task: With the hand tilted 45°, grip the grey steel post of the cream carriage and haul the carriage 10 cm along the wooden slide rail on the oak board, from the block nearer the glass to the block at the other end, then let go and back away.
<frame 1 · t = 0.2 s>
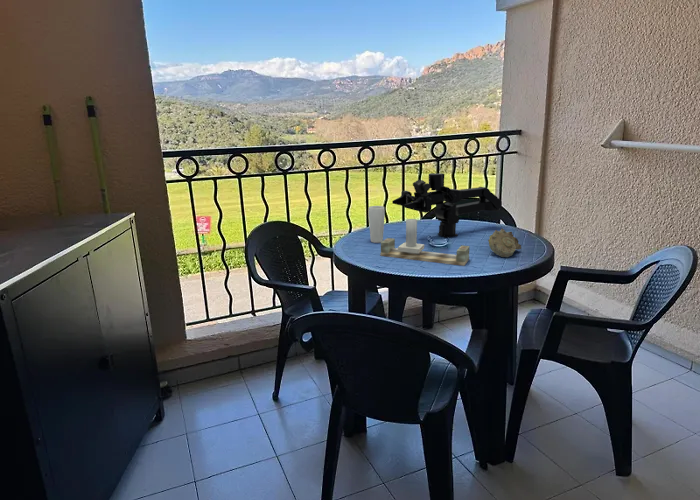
hand: (398, 204, 179), 17 cm above the table, tool horizontal, fingers open, 9 cm apart
wooden slide rail: (423, 257, 164), on the table
seashell: (503, 254, 167), on the table
carriage: (411, 235, 164), point 8 cm above the table, slide at -5.0 cm
drinking glass: (376, 242, 187), on the table
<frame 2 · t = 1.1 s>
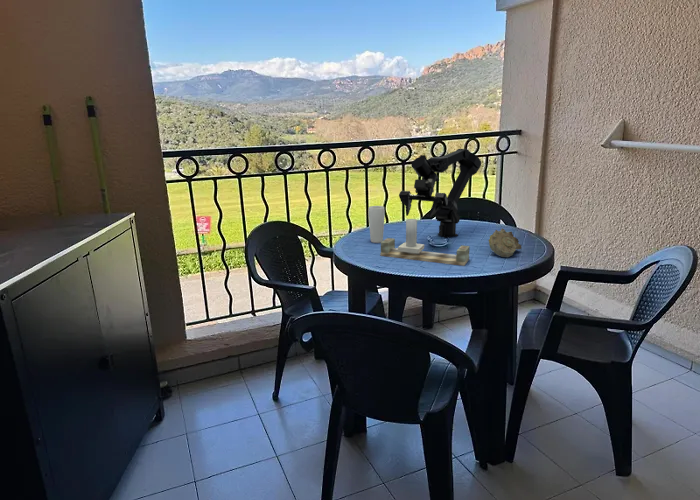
hand: (418, 216, 170), 14 cm above the table, tool tilted 45°, fingers open, 9 cm apart
nothing on the table moved.
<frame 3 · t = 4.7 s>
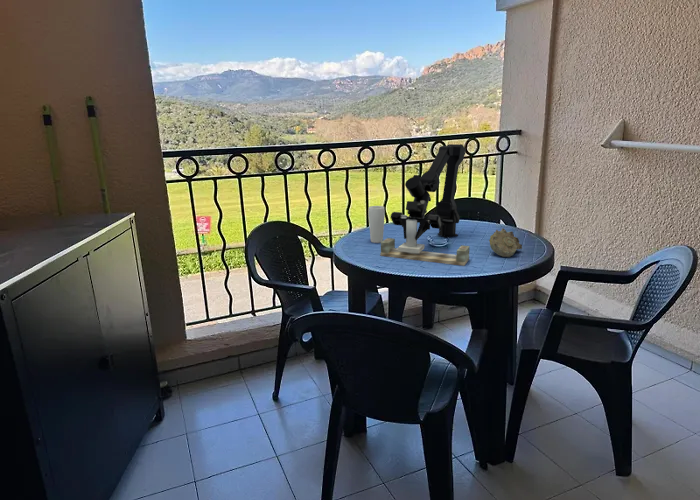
hand: (410, 239, 163), 7 cm above the table, tool tilted 45°, fingers closed on carriage, 4 cm apart
carriage: (411, 235, 164), point 8 cm above the table, slide at -4.9 cm, touching gripper
everything else where it was.
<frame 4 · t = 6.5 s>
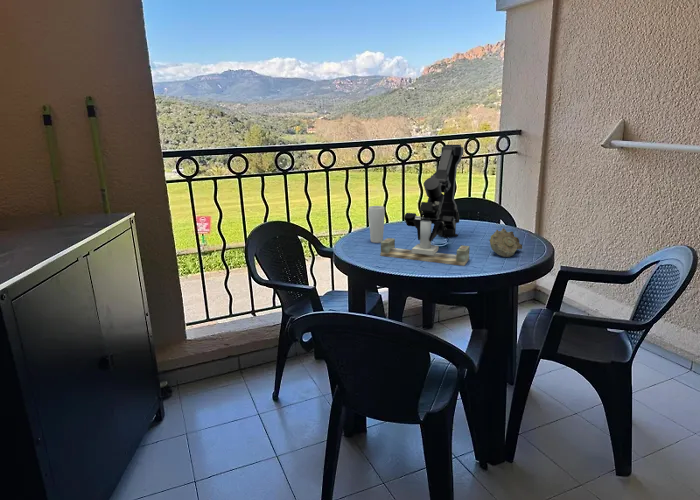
hand: (424, 240, 161), 7 cm above the table, tool tilted 45°, fingers closed on carriage, 4 cm apart
carriage: (425, 236, 162), point 8 cm above the table, slide at 0.5 cm, touching gripper
everything else where it was.
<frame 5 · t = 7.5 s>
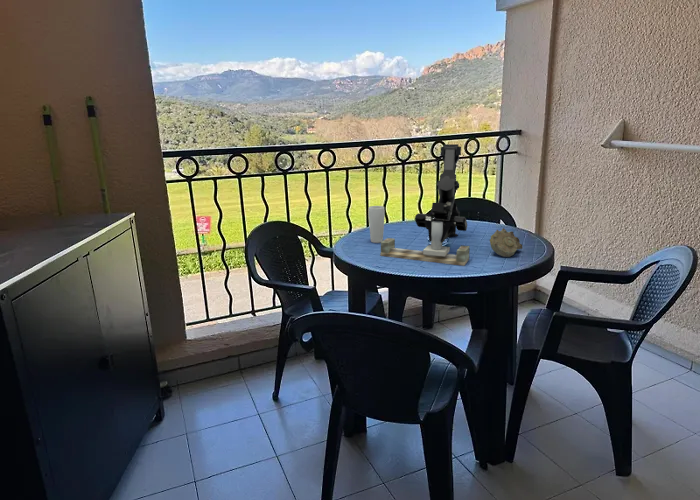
hand: (435, 241, 159), 7 cm above the table, tool tilted 45°, fingers closed on carriage, 4 cm apart
carriage: (436, 237, 160), point 8 cm above the table, slide at 4.8 cm, touching gripper
everything else where it was.
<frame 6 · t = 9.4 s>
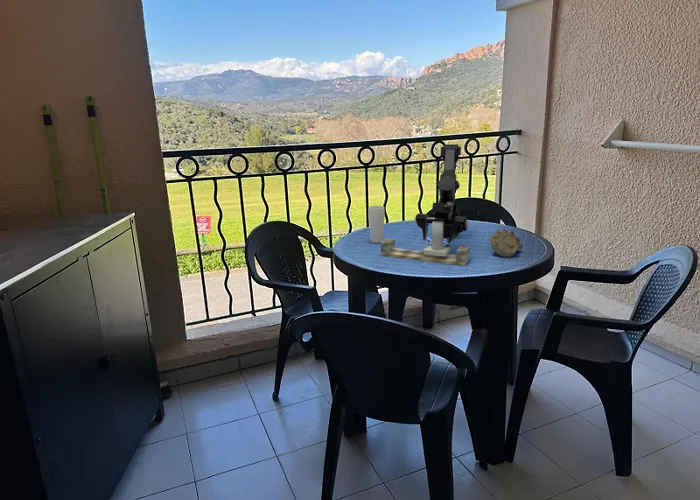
hand: (436, 241, 159), 7 cm above the table, tool tilted 45°, fingers open, 9 cm apart
carriage: (437, 237, 160), point 8 cm above the table, slide at 5.0 cm
everything else where it was.
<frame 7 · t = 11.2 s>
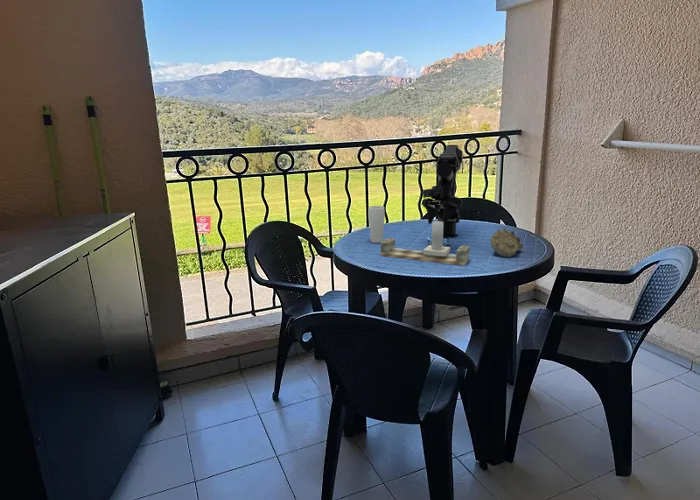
hand: (436, 223, 172), 10 cm above the table, tool tilted 25°, fingers open, 9 cm apart
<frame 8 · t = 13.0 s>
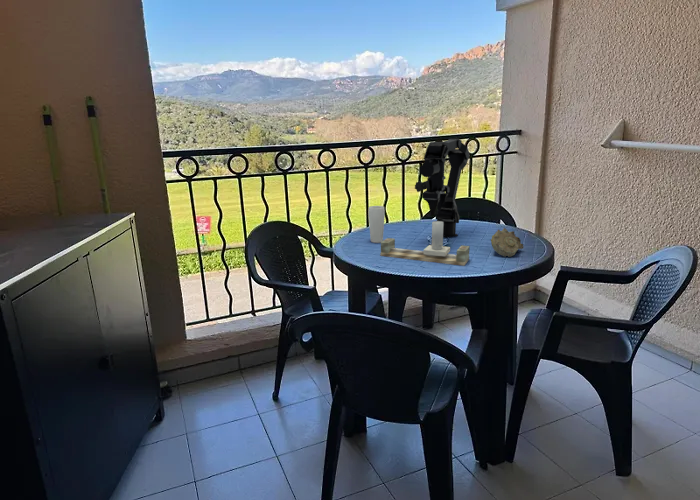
hand: (435, 212, 179), 13 cm above the table, tool pointing down, fingers open, 9 cm apart
at the end: carriage slide at 5.0 cm; the gripper is holding nothing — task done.
